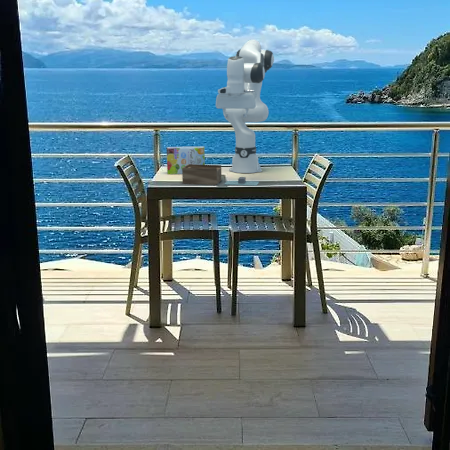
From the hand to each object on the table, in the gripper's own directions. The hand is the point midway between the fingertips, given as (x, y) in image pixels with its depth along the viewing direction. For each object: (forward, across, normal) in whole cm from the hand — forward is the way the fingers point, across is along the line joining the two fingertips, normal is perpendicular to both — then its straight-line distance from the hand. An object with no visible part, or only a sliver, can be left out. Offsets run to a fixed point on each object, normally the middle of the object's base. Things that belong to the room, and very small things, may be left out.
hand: (235, 117), depth 296 cm
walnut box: (+33, +17, +4) cm, 37 cm away
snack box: (+33, +32, -20) cm, 50 cm away
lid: (+34, -4, +4) cm, 34 cm away
